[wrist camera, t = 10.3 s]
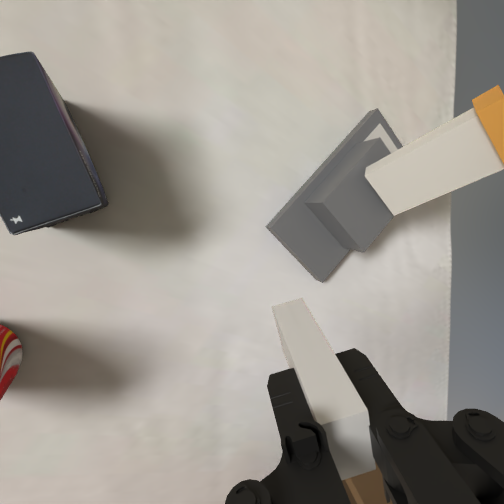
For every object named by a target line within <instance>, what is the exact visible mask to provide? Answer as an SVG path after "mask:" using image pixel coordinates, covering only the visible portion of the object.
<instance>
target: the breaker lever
mask: <svg viewBox="0 0 504 504" xmlns="http://www.w3.org/2000/svg"><path fill="white" fill-rule="evenodd" d="M472 102H473V105H474V108H472V109H471V110H468V111H467V112H465V113H463V114H461V115H460V116H458V117H456V118H454V119H452V120H450V121H449V122H447V123H445V124H443V125H441V126H440V127H438V128H436V129H434V130H432V131H431V132H429V133H427V134H425V135H423V136H422V137H420V138H418V139H416V140H414V141H413V142H411V143H409V144H407V145H405V146H404V147H402V148H400V149H398V150H396V151H395V152H393V153H391V154H389V155H388V156H386V157H384V158H382V159H380V160H379V161H377V162H375V163H373V164H371V165H370V166H368V167H366V170H365V177H366V179H367V180H368V181H369V183H370V184H371V185H372V187H373V188H374V190H375V191H376V192H377V194H378V195H379V196H380V198H381V199H382V200H383V202H384V203H385V204H386V206H387V207H388V208H389V210H390V211H391V212H392V214H393V215H394V216H395V215H397V214H399V213H402V212H404V211H406V210H409V209H411V208H414V207H416V206H418V205H421V204H423V203H425V202H428V201H430V200H432V199H435V198H437V197H439V196H442V195H444V194H447V193H449V192H451V191H453V190H456V189H458V188H461V187H463V186H465V185H468V184H470V183H472V182H475V181H477V180H479V179H482V178H484V177H487V176H489V175H491V174H494V173H496V172H498V171H501V170H503V169H504V95H503V93H502V91H501V90H500V87H499V85H497V86H496V87H494V88H492V89H490V90H489V91H487V92H485V93H483V94H481V95H480V96H478V97H476V98H474V99H473V100H472Z"/></svg>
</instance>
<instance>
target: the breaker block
mask: <svg viewBox="0 0 504 504" xmlns="http://www.w3.org/2000/svg"><path fill="white" fill-rule="evenodd" d="M402 147H403V146H402V145H401V143H400V142H399V140H398V139H397V137H396V136H395V134H394V132H393V131H392V129H391V128H390V126H389V125H388V123H387V122H386V120H385V119H384V117H383V116H382V114H381V113H380V111H379V110H378V108H377V109H375V110H372V111H369V112H368V113H367V115H366V116H365V117H364V118H363V119H362V120H361V121H360V122H359V124H358V125H357V126H356V127H355V128H354V129H353V130H352V131H351V132H350V134H349V135H348V136H347V137H346V138H345V139H344V140H343V141H342V142H341V144H340V145H339V146H338V147H337V148H336V149H335V150H334V151H333V152H332V154H331V155H330V156H329V157H328V158H327V159H326V160H325V161H324V162H323V164H322V165H321V166H320V167H319V168H318V169H317V170H316V171H315V173H314V174H313V175H312V176H311V177H310V178H309V179H308V180H307V181H306V183H305V184H304V185H303V186H302V187H301V188H300V189H299V190H298V191H297V193H296V194H295V195H294V196H293V197H292V198H291V199H290V200H289V201H288V203H287V204H286V205H285V206H284V207H283V208H282V209H281V210H280V211H279V213H278V214H277V215H276V216H275V217H274V218H273V219H272V220H271V222H270V223H269V224H268V225H267V226H266V228H267V229H268V230H269V231H270V232H271V233H272V234H273V235H274V236H275V237H276V238H277V239H278V240H279V241H280V242H281V243H282V245H283V246H284V247H285V248H286V249H287V250H288V251H289V252H290V253H291V254H292V255H293V256H294V257H295V258H296V259H297V260H298V261H299V262H300V263H301V264H302V266H303V267H304V268H305V269H306V270H307V271H308V272H309V273H310V274H311V275H312V276H313V277H314V278H315V279H316V280H318V281H320V282H322V283H323V281H324V280H325V279H326V278H327V277H328V275H329V274H330V273H331V272H332V271H333V270H334V268H335V267H336V266H337V265H338V264H339V262H340V261H341V260H342V259H343V258H344V256H345V255H346V254H347V253H348V252H349V251H350V249H351V250H356V251H360V252H365V250H366V249H367V248H368V247H369V246H370V244H371V243H372V242H373V241H374V240H375V238H376V237H377V236H378V235H379V234H380V232H381V231H382V230H383V229H384V228H385V226H386V225H387V224H388V223H389V222H390V220H391V219H392V218H393V217H394V215H393V214H392V212H391V211H390V210H389V208H388V207H387V206H386V204H385V203H384V202H383V200H382V199H381V198H380V196H379V195H378V194H377V192H376V191H375V190H374V188H373V187H372V185H371V184H370V183H369V181H368V180H367V179H366V177H365V170H366V167H368V166H370V165H371V164H373V163H375V162H377V161H379V160H380V159H382V158H384V157H386V156H388V155H389V154H391V153H393V152H395V151H396V150H398V149H400V148H402Z"/></svg>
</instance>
